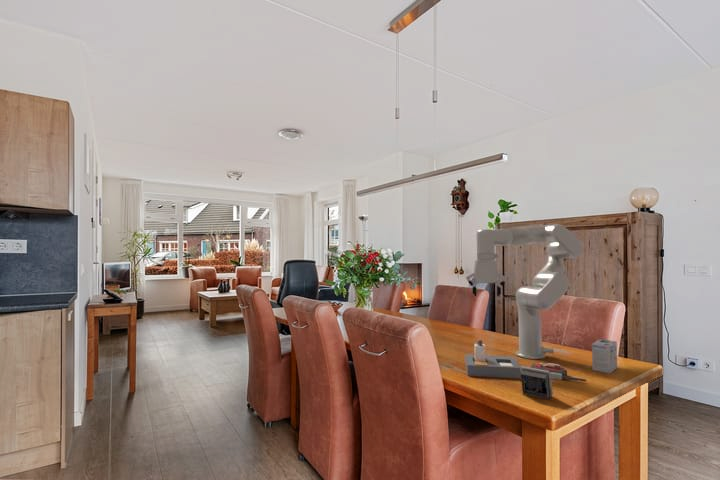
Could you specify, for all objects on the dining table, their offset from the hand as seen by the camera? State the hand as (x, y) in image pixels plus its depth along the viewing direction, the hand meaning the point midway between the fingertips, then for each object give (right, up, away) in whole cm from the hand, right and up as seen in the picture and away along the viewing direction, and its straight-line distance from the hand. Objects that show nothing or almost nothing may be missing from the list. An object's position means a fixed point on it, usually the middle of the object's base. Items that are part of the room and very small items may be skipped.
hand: (486, 296), depth 166 cm
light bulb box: (+44, -28, -13) cm, 53 cm away
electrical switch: (+3, -27, -41) cm, 50 cm away
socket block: (-3, -28, -15) cm, 32 cm away
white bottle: (-7, -28, -14) cm, 32 cm away
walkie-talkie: (+20, -28, -22) cm, 41 cm away
